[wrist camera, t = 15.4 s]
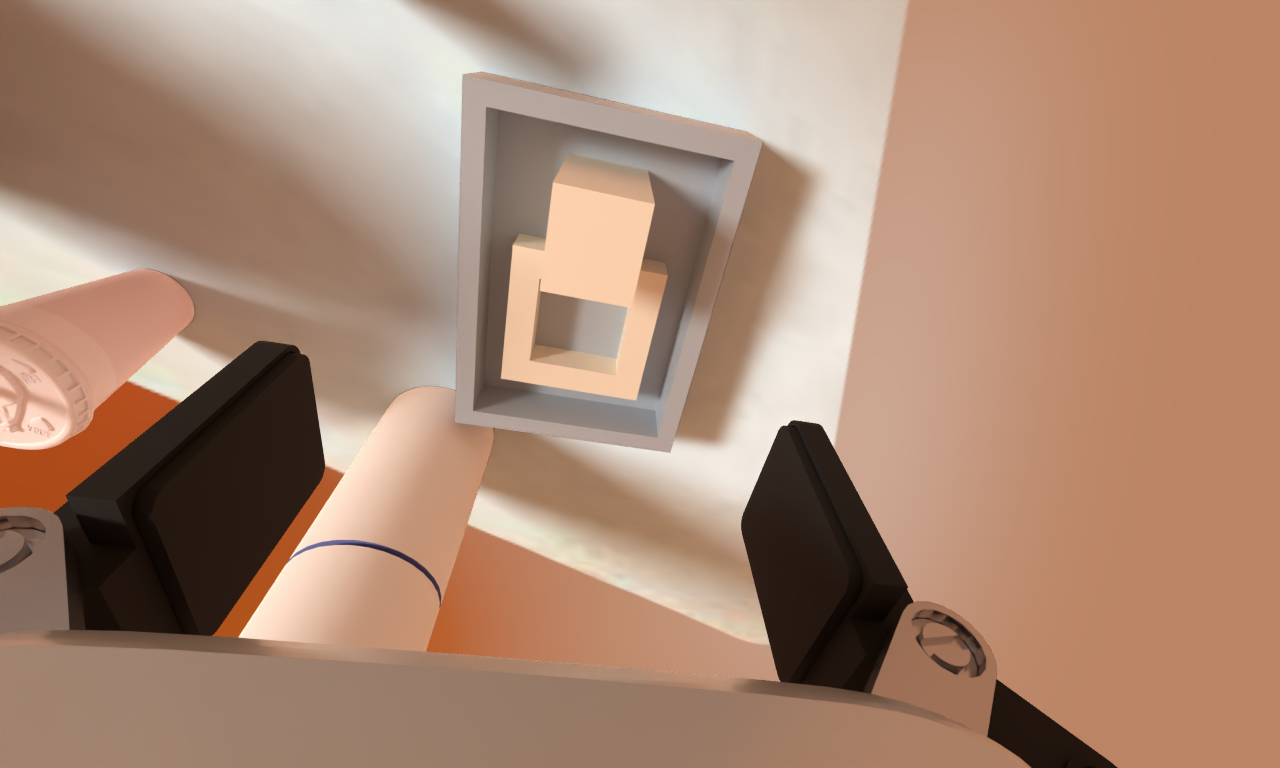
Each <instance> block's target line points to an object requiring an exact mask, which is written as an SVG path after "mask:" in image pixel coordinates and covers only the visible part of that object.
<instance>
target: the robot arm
mask: <svg viewBox="0 0 1280 768" xmlns="http://www.w3.org/2000/svg"><path fill="white" fill-rule="evenodd" d="M324 469H325V460H324V454H323V447H322V440H321V434H320V427H319V421H318V414H317V407H316V401H315V394H314V388H313V381H312V374H311V368H310V362H309V359H308V357H307V356H306V355H302V354H300V351H299V349H298V348H297V347H296V346H294V345H288V344H281V343H274V342H268V341H258V342H256V343H254V344H253V345H252V346H251V347H249V348H248V349H247V350H246V351H244V352H243V353H242V354H241V355H239V356H238V357H237V358H236V359H235V360H233V361H232V362H231V363H230V364H228V365H227V366H226V367H225V368H223V369H222V370H221V371H220V372H218V373H217V374H216V375H215V376H213V377H212V378H211V379H210V380H208V381H207V382H206V383H205V384H203V385H202V386H201V387H200V388H199V389H197V390H196V391H195V392H194V393H192V394H191V395H190V396H189V397H187V398H186V399H185V400H184V401H182V402H181V403H180V404H179V405H177V406H176V407H175V408H174V409H173V410H171V411H170V412H169V413H168V414H166V415H165V416H164V417H163V418H161V419H160V420H159V421H158V422H156V423H155V424H154V425H153V426H151V427H150V428H149V429H148V430H146V431H145V432H144V433H143V434H141V435H140V436H139V437H138V438H137V439H135V440H134V441H133V442H131V443H130V444H129V445H128V446H127V447H125V448H124V449H123V450H122V451H120V452H119V453H118V454H117V455H115V456H114V457H113V458H112V459H110V460H109V461H108V462H107V463H105V464H104V465H103V466H102V467H101V468H99V469H98V470H97V471H96V472H94V473H93V474H92V475H91V476H89V477H88V478H87V479H86V480H84V481H83V482H82V483H81V484H79V485H78V486H77V487H76V488H74V489H73V490H72V491H71V492H69V493H68V494H67V495H66V497H67V499H68V502H66V503H65V504H64V505H63V506H62V507H60V508H59V509H58V510H57V511H56V512H54V513H51V512H50V511H48V510H45V509H39V508H33V507H13V508H3V509H0V768H1117V767H1116V766H1115V765H1114V764H1112V763H1111V762H1110V761H1109V760H1107V759H1106V758H1104V757H1103V756H1102V755H1100V754H1099V753H1098V752H1096V751H1095V750H1093V749H1092V748H1091V747H1089V746H1088V745H1086V744H1085V743H1084V742H1082V741H1081V740H1079V739H1078V738H1077V737H1075V736H1074V735H1073V734H1071V733H1070V732H1069V731H1067V730H1066V729H1064V728H1063V727H1062V726H1060V725H1059V724H1058V723H1056V722H1055V721H1053V720H1052V719H1051V718H1049V717H1048V716H1046V715H1045V714H1044V713H1042V712H1041V711H1040V710H1038V709H1037V708H1036V707H1034V706H1033V705H1031V704H1030V703H1029V702H1027V701H1026V700H1025V699H1023V698H1022V697H1020V696H1019V695H1018V694H1016V693H1015V692H1014V691H1012V690H1011V689H1009V688H1008V687H1007V686H1005V685H1004V684H1003V683H1001V682H1000V681H998V680H997V679H996V678H997V664H996V660H995V657H994V655H993V653H992V650H991V648H990V647H989V645H988V644H987V642H986V641H985V639H984V638H983V636H982V635H981V634H980V633H979V632H978V631H977V630H976V629H975V628H974V627H973V626H972V625H971V624H970V623H969V622H968V621H966V620H965V619H964V618H962V617H961V616H960V615H958V614H957V613H955V612H954V611H952V610H950V609H947V608H946V607H944V606H942V605H939V604H935V603H932V602H926V601H917V602H913V600H912V598H911V596H910V594H909V592H908V590H907V588H908V586H907V584H906V582H905V580H904V579H903V577H902V575H901V573H900V571H899V569H898V567H897V565H896V564H895V562H894V560H893V559H892V556H891V554H890V552H889V550H888V549H887V547H886V545H885V543H884V541H883V539H882V538H881V536H880V534H879V532H878V530H877V528H876V526H875V524H874V523H873V521H872V519H871V517H870V515H869V513H868V511H867V509H866V507H865V506H864V504H863V502H862V500H861V498H860V496H859V494H858V492H857V491H856V489H855V487H854V485H853V483H852V481H851V480H850V477H849V476H848V474H847V472H846V470H845V468H844V466H843V464H842V462H841V461H840V459H839V457H838V455H837V453H836V451H835V449H834V448H833V446H832V444H831V442H830V440H829V438H828V436H827V434H826V433H825V431H824V429H823V427H822V426H821V425H819V424H816V423H809V422H802V421H795V420H794V421H791V422H790V423H789V424H788V426H782V427H781V428H780V429H779V431H778V433H777V436H776V438H775V440H774V443H773V445H772V447H771V450H770V452H769V454H768V457H767V459H766V461H765V464H764V466H763V468H762V471H761V473H760V476H759V478H758V480H757V483H756V485H755V487H754V490H753V492H752V494H751V497H750V499H749V501H748V504H747V506H746V508H745V511H744V513H743V516H742V521H741V530H742V535H743V539H744V543H745V547H746V551H747V555H748V559H749V563H750V567H751V571H752V575H753V579H754V583H755V587H756V591H757V595H758V599H759V603H760V606H761V610H762V614H763V618H764V622H765V626H766V630H767V634H768V638H769V642H770V646H771V650H772V654H773V658H774V662H775V666H776V670H777V674H778V677H779V680H780V681H781V682H776V681H766V680H756V679H746V678H736V677H724V676H713V675H701V674H690V673H678V672H666V671H655V670H643V669H631V668H620V667H607V666H596V665H583V664H572V663H559V662H547V661H535V660H522V659H509V658H498V657H485V656H473V655H460V654H446V653H435V652H422V651H410V650H396V649H383V648H370V647H357V646H343V645H330V644H317V643H303V642H290V641H277V640H263V639H250V638H235V637H218V636H212V635H213V634H214V633H215V632H216V631H217V630H218V628H219V627H220V626H221V624H222V623H223V621H224V620H225V618H226V617H227V615H228V614H229V613H230V611H231V610H232V608H233V607H234V605H235V604H236V602H237V601H238V599H239V598H240V597H241V595H242V594H243V592H244V591H245V589H246V588H247V586H248V585H249V584H250V582H251V581H252V579H253V578H254V576H255V575H256V574H257V572H258V571H259V569H260V568H261V566H262V565H263V563H264V562H265V561H266V559H267V558H268V556H269V555H270V553H271V552H272V550H273V549H274V548H275V546H276V545H277V543H278V542H279V540H280V539H281V538H282V536H283V535H284V533H285V532H286V530H287V529H288V527H289V526H290V525H291V523H292V522H293V520H294V519H295V517H296V516H297V514H298V513H299V512H300V510H301V508H302V507H303V506H304V504H305V503H306V501H307V500H308V499H309V497H310V496H311V494H312V493H313V491H314V490H315V489H316V487H317V486H318V484H319V483H320V481H321V479H322V477H323V474H324Z"/></svg>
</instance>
